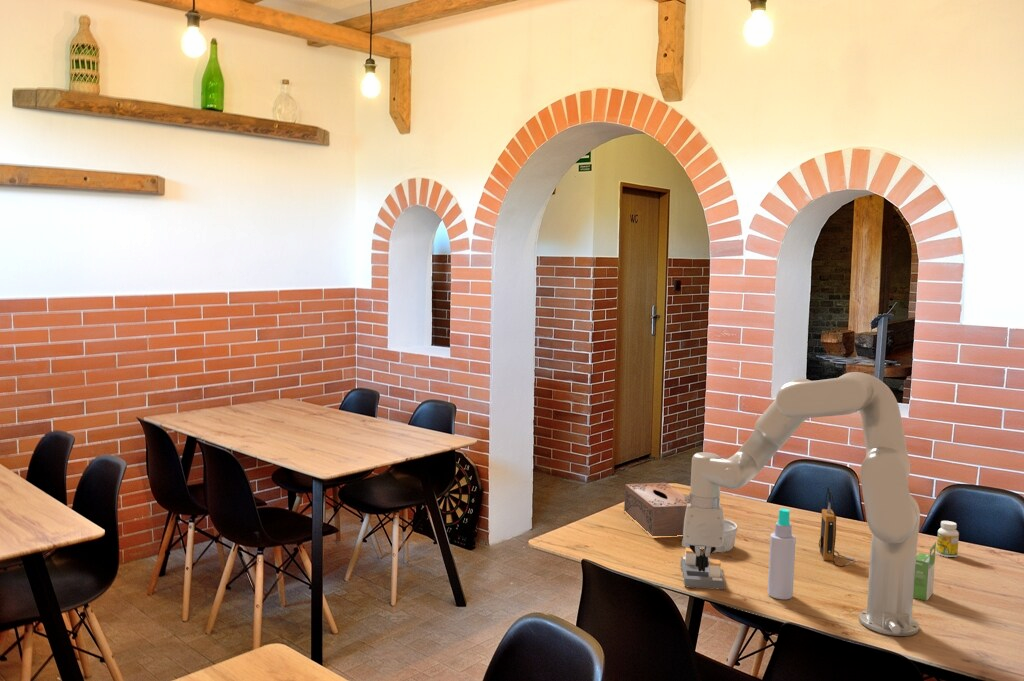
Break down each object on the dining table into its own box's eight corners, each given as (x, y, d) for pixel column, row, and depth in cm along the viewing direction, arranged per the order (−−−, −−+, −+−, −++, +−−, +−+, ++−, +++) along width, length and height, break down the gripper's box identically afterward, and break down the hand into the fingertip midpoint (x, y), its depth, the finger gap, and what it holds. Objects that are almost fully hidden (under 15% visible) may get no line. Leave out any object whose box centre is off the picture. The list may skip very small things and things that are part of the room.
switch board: (724, 589, 208) (724, 581, 208) (684, 586, 209) (684, 578, 209) (717, 567, 224) (718, 558, 224) (680, 564, 225) (680, 556, 225)
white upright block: (719, 582, 211) (720, 563, 210) (709, 582, 211) (710, 563, 211) (718, 578, 213) (719, 560, 213) (708, 578, 214) (709, 559, 213)
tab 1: (695, 570, 219) (696, 551, 219) (685, 569, 220) (686, 551, 219) (694, 566, 222) (695, 548, 222) (684, 565, 222) (685, 547, 222)
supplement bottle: (961, 557, 235) (963, 524, 235) (946, 558, 234) (949, 526, 233) (946, 551, 241) (948, 519, 240) (932, 552, 239) (934, 520, 238)
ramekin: (689, 551, 236) (690, 528, 235) (690, 537, 248) (691, 515, 248) (737, 556, 233) (738, 532, 232) (735, 541, 245) (736, 519, 245)
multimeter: (864, 569, 225) (868, 498, 223) (825, 565, 227) (829, 495, 225) (852, 551, 239) (857, 484, 237) (817, 548, 241) (820, 481, 239)
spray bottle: (782, 602, 201) (787, 515, 199) (762, 594, 206) (766, 508, 204) (797, 596, 205) (802, 511, 203) (777, 588, 209) (781, 505, 207)
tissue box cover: (624, 513, 271) (625, 484, 271) (664, 511, 274) (666, 482, 273) (652, 539, 246) (653, 507, 245) (697, 537, 249) (698, 505, 248)
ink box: (916, 589, 211) (919, 538, 210) (933, 593, 209) (937, 542, 207) (909, 597, 206) (913, 545, 205) (926, 601, 203) (930, 549, 202)
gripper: (676, 503, 208) (673, 572, 210) (736, 507, 206) (732, 577, 208) (674, 495, 215) (671, 562, 217) (732, 498, 213) (728, 566, 215)
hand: (701, 569), depth 212 cm, fingers closed
